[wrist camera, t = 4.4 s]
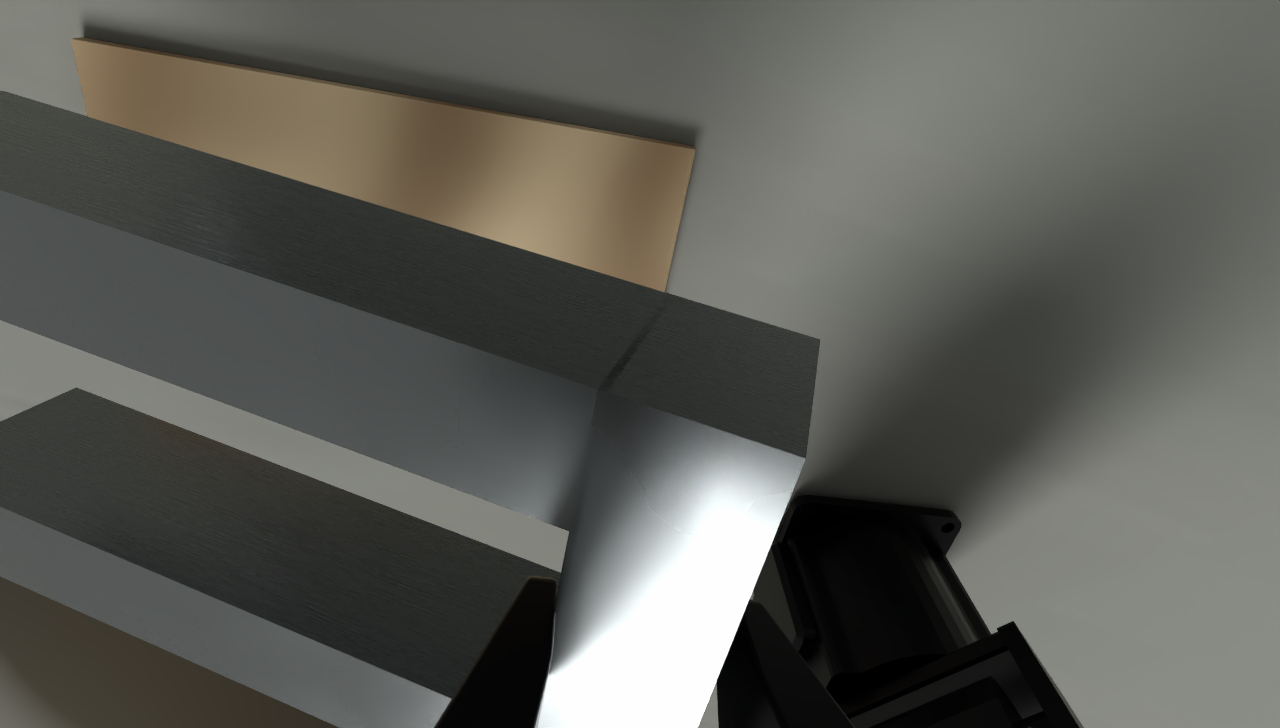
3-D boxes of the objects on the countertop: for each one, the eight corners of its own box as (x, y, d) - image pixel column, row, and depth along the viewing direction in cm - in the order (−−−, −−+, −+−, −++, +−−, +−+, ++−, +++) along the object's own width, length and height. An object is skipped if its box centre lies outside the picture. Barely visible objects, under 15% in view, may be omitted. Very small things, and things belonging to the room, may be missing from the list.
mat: (693, 146, 18) (695, 149, 18) (634, 419, 22) (635, 426, 22) (82, 37, 16) (70, 38, 16) (150, 360, 20) (142, 367, 20)
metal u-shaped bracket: (820, 339, 9) (805, 458, 7) (685, 698, 13) (643, 862, 10) (3, 90, 11) (-248, 107, 9) (94, 461, 15) (-62, 548, 13)
